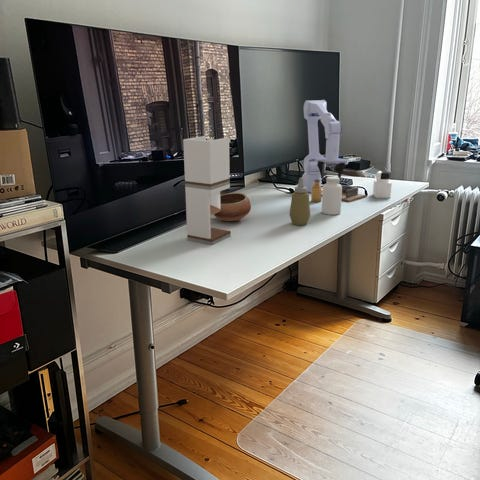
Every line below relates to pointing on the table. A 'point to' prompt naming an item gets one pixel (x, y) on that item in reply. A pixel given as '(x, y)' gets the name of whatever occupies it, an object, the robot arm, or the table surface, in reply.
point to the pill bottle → (331, 196)
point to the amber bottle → (316, 192)
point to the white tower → (205, 186)
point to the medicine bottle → (382, 185)
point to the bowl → (233, 207)
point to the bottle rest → (350, 194)
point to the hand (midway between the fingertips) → (330, 179)
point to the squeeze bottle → (300, 205)
